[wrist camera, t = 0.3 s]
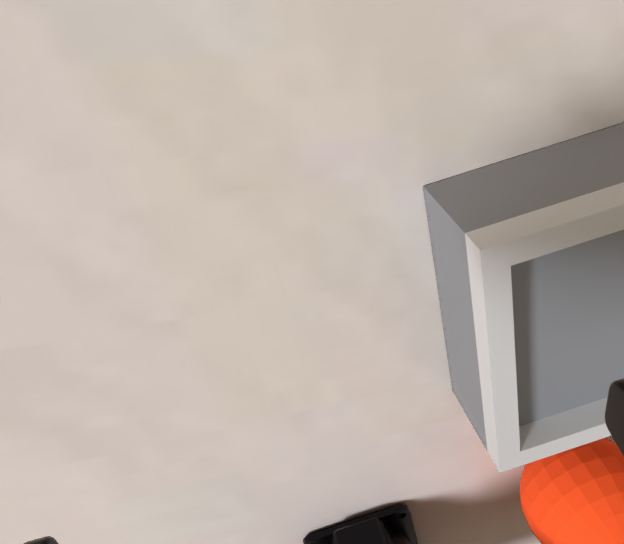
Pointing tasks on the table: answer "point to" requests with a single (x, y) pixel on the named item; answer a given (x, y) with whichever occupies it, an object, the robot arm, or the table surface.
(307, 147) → the table surface
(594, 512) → the clementine
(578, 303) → the grey storage bin
